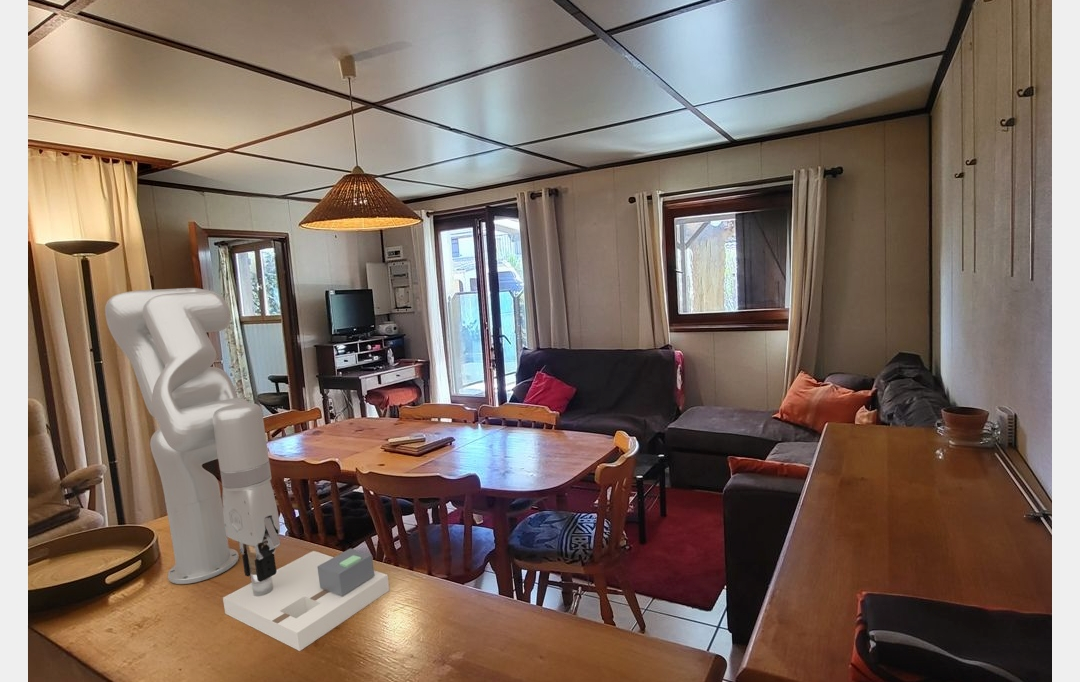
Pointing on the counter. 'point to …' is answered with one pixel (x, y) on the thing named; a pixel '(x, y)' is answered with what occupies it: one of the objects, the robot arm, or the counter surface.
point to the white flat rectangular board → (301, 603)
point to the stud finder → (345, 571)
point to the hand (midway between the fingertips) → (260, 574)
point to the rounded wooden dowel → (257, 586)
